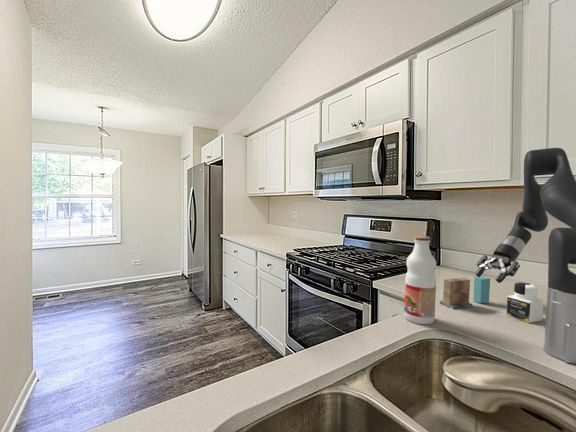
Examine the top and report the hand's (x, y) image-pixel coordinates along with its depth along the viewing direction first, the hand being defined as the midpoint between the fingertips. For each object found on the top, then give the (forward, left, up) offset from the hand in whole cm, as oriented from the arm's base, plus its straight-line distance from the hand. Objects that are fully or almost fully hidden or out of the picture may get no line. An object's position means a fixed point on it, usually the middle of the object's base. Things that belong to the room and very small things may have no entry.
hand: (487, 278), depth 116 cm
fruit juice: (-26, +30, -10) cm, 41 cm away
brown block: (-8, +13, -9) cm, 18 cm away
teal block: (-1, +2, -9) cm, 10 cm away
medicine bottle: (-15, -6, -10) cm, 19 cm away
